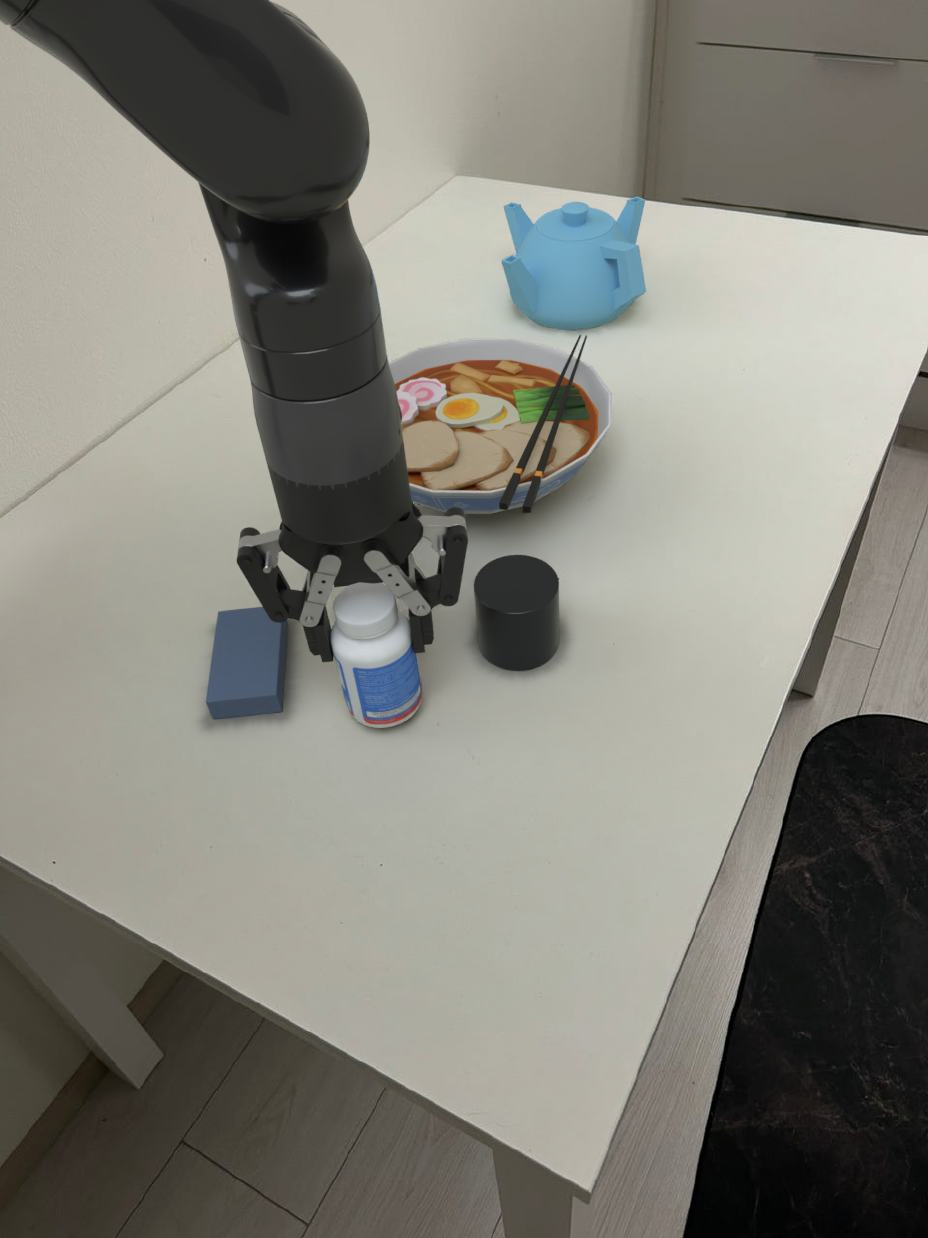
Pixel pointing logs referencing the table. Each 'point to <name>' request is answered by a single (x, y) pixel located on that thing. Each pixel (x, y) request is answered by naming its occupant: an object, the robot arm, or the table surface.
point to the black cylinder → (517, 612)
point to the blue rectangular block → (247, 664)
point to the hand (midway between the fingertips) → (374, 647)
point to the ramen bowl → (496, 421)
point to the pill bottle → (375, 656)
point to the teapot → (575, 264)
